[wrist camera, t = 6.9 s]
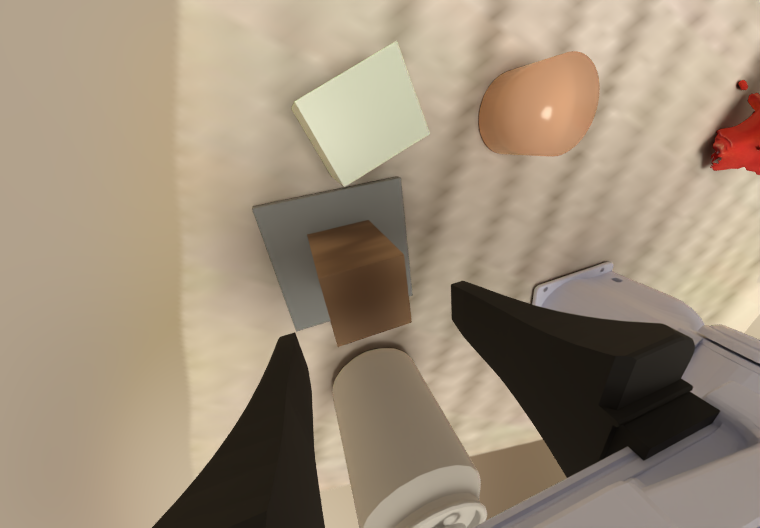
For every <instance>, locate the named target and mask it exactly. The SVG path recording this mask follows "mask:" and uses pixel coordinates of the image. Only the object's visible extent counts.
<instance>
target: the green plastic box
mask: <svg viewBox="0 0 760 528" xmlns="http://www.w3.org/2000/svg"><path fill="white" fill-rule="evenodd" d="M291 109H292V111H293V113H294V114H295V116H296V118H297V119H298V121H299V123H300V124H301V126H302V128H303V130H304V131H305V133H306V135H307V136H308V138H309V140H310V141H311V143H312V145H313V146H314V148H315V150H316V152H317V153H318V155H319V157H320V158H321V160H322V162H323V163H324V165H325V167H326V168H327V170H328V172H329V173H330V175H331V177H332V178H334V179H335V180H336V181H337V182H339V183H340V184H341V185H342V186H343V187H345V186H347V185H349V184H350V183H352V182H353V181H355V180H357V179H358V178H360V177H362V176H363V175H365V174H366V173H368V172H370V171H371V170H373V169H374V168H376V167H378V166H379V165H381V164H382V163H384V162H386V161H387V160H389V159H391V158H392V157H394V156H395V155H397V154H399V153H400V152H402V151H403V150H405V149H407V148H408V147H410V146H412V145H413V144H415V143H416V142H418V141H420V140H421V139H423V138H424V137H426V136H428V135H429V134H430V132H429V129H428V126H427V124H426V121H425V118H424V115H423V112H422V110H421V107H420V104H419V101H418V99H417V96H416V93H415V90H414V87H413V85H412V82H411V79H410V76H409V74H408V71H407V68H406V65H405V62H404V60H403V57H402V54H401V51H400V49H399V46H398V43H397V41H395V42H394V43H392V44H390V45H389V46H387V47H385V48H384V49H382V50H380V51H378V52H377V53H375V54H373V55H372V56H370V57H368V58H367V59H365V60H363V61H362V62H360V63H358V64H357V65H355V66H353V67H352V68H350V69H348V70H347V71H345V72H343V73H342V74H340V75H338V76H336V77H335V78H333V79H331V80H330V81H328V82H326V83H325V84H323V85H321V86H320V87H318V88H316V89H315V90H313V91H311V92H310V93H308V94H306V95H305V96H303V97H301V98H300V99H298V100H296V101H295V102H294V104H293V106H292V108H291Z"/></svg>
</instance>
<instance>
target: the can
mask: <svg viewBox="0 0 760 528" xmlns="http://www.w3.org/2000/svg"><path fill="white" fill-rule="evenodd" d="M332 393H333V400H334V405H335V410H336V415H337V420H338V425H339V430H340V435H341V440H342V445H343V449H344V454H345V459H346V464H347V469H348V474H349V479H350V484H351V489H352V493H353V498H354V503H355V508H356V513H357V518H358V523H359V528H473V527H475V526H477V525H479V524H481V523H483V522H485V520H486V517H487V511H486V508H485V506H484V504H481V503H480V502H479V494H480V483H481V480H480V477H479V473H478V471H477V469H476V468H475V466H474V464H473V463H472V461H471V459H470V457H469V455H468V454H467V452H466V450H465V449H464V447H463V445H462V443H461V442H460V440H459V438H458V437H457V435H456V433H455V432H454V430H453V428H452V426H451V425H450V423H449V421H448V420H447V418H446V416H445V415H444V413H443V411H442V409H441V408H440V406H439V404H438V403H437V401H436V399H435V398H434V396H433V394H432V392H431V391H430V389H429V387H428V386H427V384H426V382H425V381H424V379H423V377H422V375H421V374H420V372H419V370H418V369H417V367H416V365H415V364H414V362H413V360H412V359H411V358H410V357H409V356H408V355H407V354H406V353H405V352H403V351H400V350H397V349H394V348H380V349H374V350H370V351H366V352H364V353H362V354H360V355H358V356H356V357H355V358H354V359H353V360H351V361H350V362H349V363H348V364H347V365H346V366H344V367H343V368H342V370H341V371H340V373H339V374H338V376H337V377H336V378H335V382H334V385H333V388H332Z"/></svg>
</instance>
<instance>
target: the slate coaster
mask: <svg viewBox="0 0 760 528" xmlns="http://www.w3.org/2000/svg"><path fill="white" fill-rule="evenodd" d="M252 210H253V213H254V216H255V218H256V221H257V224H258V227H259V229H260V232H261V235H262V238H263V240H264V243H265V246H266V249H267V251H268V254H269V257H270V260H271V262H272V265H273V268H274V271H275V274H276V276H277V279H278V282H279V285H280V287H281V290H282V293H283V296H284V298H285V301H286V304H287V307H288V309H289V312H290V315H291V318H292V321H293V323H294V326H295V329H296V331H300V330H303V329H306V328H309V327H312V326H316V325H319V324H322V323H325V322H329V321H330V318H329V314H328V311H327V307H326V303H325V300H324V296H323V293H322V289H321V286H320V282H319V279H318V275H317V271H316V267H315V264H314V260H313V256H312V252H311V248H310V244H309V241H308V237H307V234H312V233H316V232H320V231H324V230H328V229H332V228H336V227H341V226H345V225H349V224H353V223H357V222H361V221H366V220H369V221H370V222H371V223H372V224H373V225H374V226H375V227H376V228H377V229H378V230H379V231H380V232H382V233H383V234H384V235H385V236H386V237H387V238H388V239H389V240H390V241H391V242H392V243H393V244H394V245H395V246H396V247H397V248H398V249H399V250H400V251H401V252H402V253H403V254H404V258H405V267H406V276H407V285H408V294H409V296H412V286H411V276H410V266H409V256H408V246H407V236H406V226H405V216H404V206H403V196H402V185H401V178H400V177H393V178H388V179H383V180H378V181H373V182H368V183H364V184H359V185H354V186H349V187H344V188H340V189H335V190H330V191H325V192H320V193H315V194H311V195H306V196H301V197H296V198H291V199H287V200H282V201H277V202H272V203H267V204H262V205H258V206H253V208H252Z"/></svg>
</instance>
